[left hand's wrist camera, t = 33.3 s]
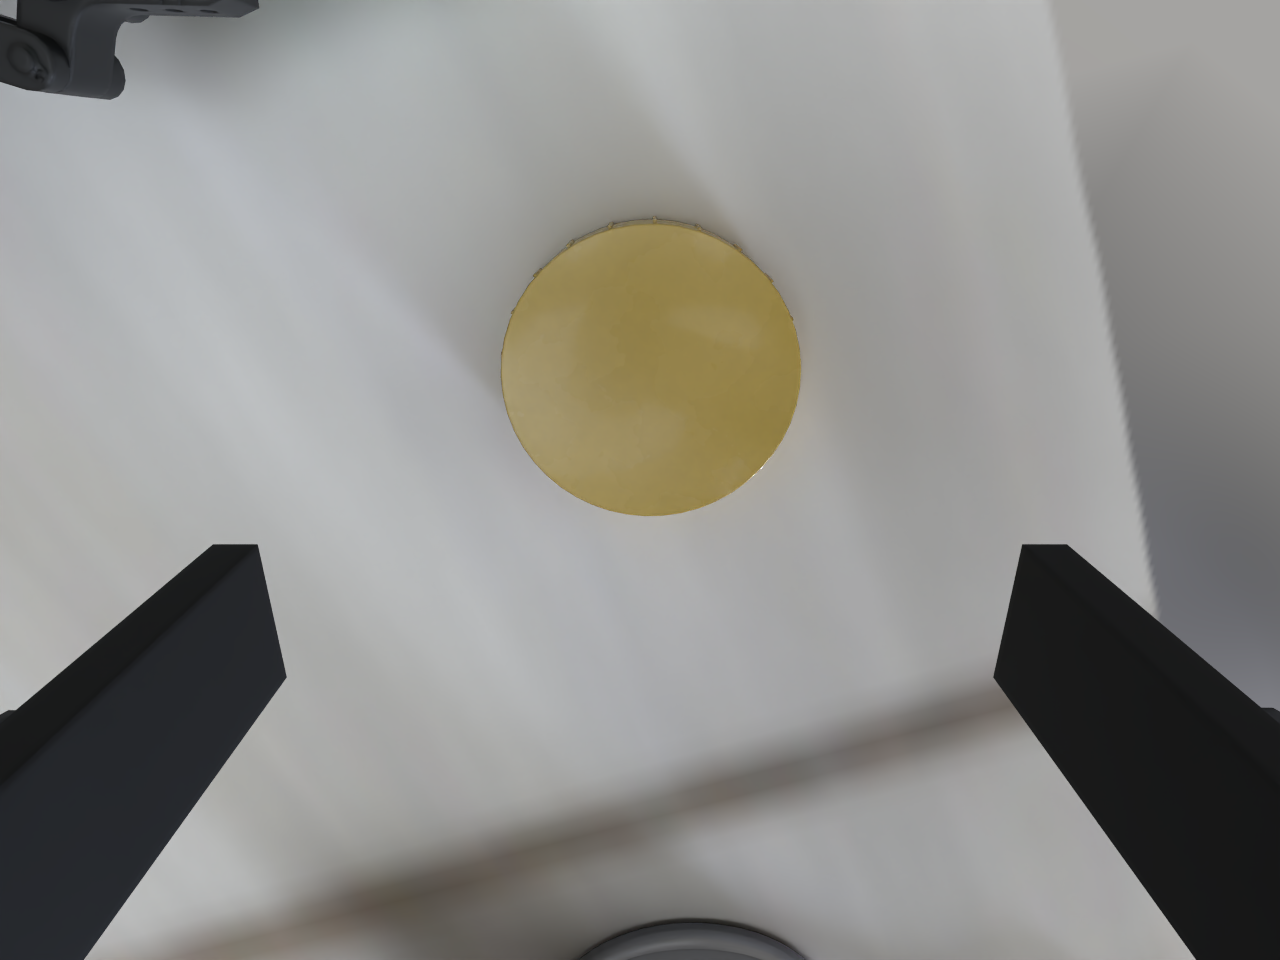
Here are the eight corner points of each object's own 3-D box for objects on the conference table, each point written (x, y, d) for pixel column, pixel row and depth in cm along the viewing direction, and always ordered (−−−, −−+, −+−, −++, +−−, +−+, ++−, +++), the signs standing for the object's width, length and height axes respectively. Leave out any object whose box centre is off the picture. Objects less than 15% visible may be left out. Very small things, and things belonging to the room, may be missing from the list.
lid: (756, 512, 28) (764, 536, 27) (497, 472, 28) (486, 494, 26) (824, 246, 24) (839, 253, 23) (523, 192, 24) (513, 195, 22)
